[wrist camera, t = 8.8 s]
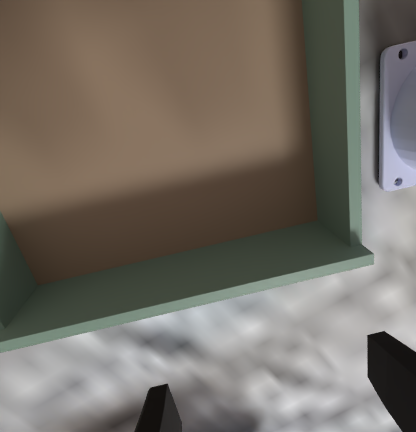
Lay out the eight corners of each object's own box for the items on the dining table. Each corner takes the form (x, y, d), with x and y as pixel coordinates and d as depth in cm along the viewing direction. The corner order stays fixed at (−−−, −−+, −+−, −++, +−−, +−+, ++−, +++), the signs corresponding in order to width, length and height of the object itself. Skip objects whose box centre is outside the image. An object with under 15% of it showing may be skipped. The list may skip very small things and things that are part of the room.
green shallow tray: (303, -129, 13) (376, -261, 8) (325, 225, 19) (373, 264, 14) (-137, -38, 12) (-324, -123, 8) (33, 293, 19) (-14, 356, 14)
